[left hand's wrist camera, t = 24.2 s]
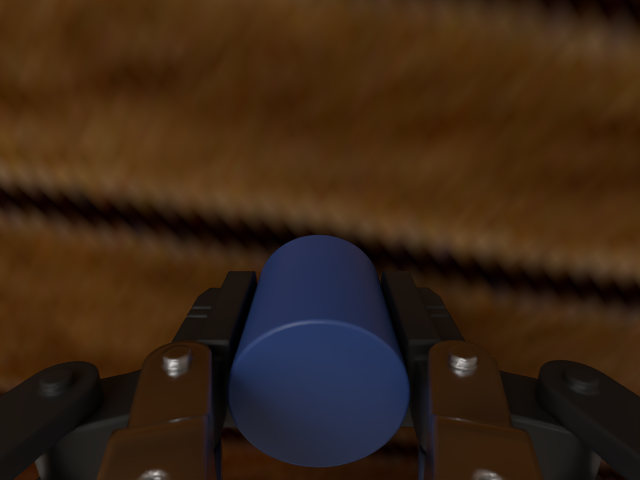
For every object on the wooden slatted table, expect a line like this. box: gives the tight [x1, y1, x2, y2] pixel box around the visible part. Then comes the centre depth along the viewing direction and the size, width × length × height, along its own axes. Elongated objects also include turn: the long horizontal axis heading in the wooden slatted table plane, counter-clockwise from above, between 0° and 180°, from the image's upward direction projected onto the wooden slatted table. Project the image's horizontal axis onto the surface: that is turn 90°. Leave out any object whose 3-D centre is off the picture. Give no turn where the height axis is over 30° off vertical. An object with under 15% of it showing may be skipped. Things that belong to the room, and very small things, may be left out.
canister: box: [227, 235, 411, 467], centre depth 10 cm, size 4×4×5 cm
